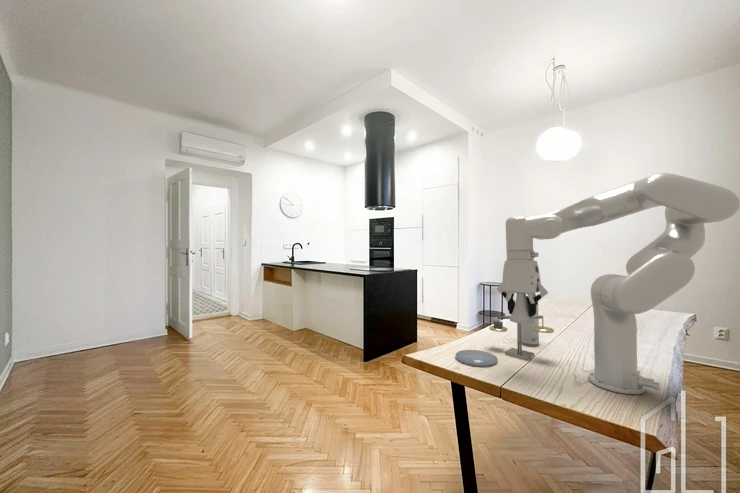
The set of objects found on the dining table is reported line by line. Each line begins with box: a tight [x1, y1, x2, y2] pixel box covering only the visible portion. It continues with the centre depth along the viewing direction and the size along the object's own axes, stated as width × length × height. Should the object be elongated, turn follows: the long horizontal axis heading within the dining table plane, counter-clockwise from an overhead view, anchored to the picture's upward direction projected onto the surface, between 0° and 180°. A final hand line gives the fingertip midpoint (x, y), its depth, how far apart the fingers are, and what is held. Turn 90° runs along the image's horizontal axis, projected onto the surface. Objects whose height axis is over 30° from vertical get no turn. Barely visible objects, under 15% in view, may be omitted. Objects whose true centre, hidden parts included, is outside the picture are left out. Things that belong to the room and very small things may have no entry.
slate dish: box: [455, 349, 499, 368], centre depth 106 cm, size 14×14×1 cm
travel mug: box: [521, 295, 540, 348], centre depth 121 cm, size 6×7×20 cm
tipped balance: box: [488, 315, 555, 361], centre depth 109 cm, size 22×6×16 cm, turn 42°
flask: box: [509, 293, 535, 324], centre depth 92 cm, size 7×7×10 cm
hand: (521, 314), depth 92 cm, fingers closed on flask, 5 cm apart
